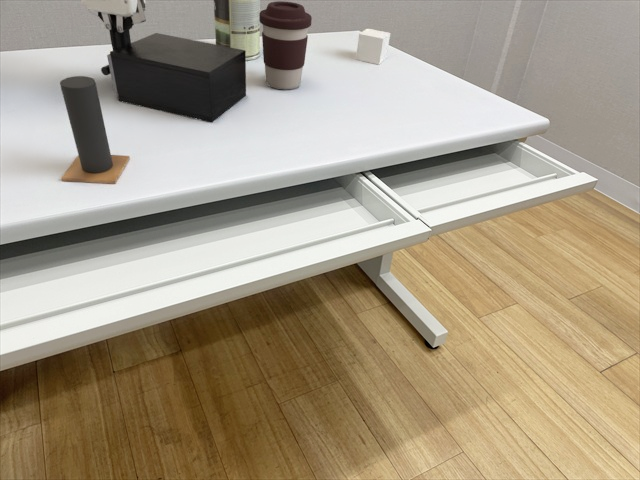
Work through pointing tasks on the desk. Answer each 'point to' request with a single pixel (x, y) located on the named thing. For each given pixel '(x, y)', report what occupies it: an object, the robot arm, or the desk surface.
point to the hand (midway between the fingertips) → (122, 52)
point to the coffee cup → (284, 43)
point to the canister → (87, 123)
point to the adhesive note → (372, 46)
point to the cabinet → (180, 76)
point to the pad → (110, 176)
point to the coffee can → (238, 25)
